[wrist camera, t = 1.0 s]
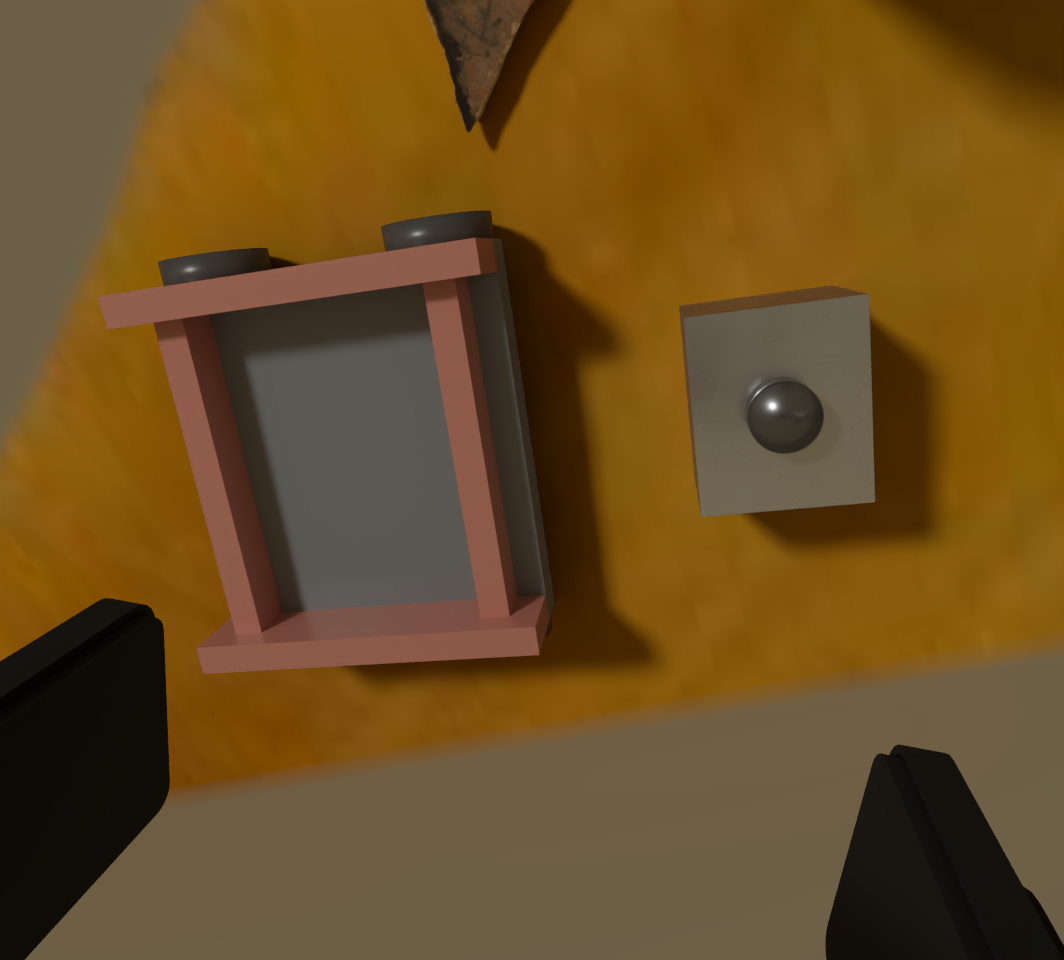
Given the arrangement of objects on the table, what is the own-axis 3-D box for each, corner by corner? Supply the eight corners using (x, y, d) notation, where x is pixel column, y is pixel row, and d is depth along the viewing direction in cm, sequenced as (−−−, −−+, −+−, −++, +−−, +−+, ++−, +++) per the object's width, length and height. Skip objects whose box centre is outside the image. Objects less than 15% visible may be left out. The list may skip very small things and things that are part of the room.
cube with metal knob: (830, 285, 26) (878, 296, 21) (838, 458, 28) (884, 513, 22) (678, 305, 27) (684, 321, 21) (694, 472, 29) (703, 527, 23)
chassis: (506, 212, 27) (469, 203, 22) (562, 606, 31) (543, 679, 26) (191, 263, 29) (89, 266, 24) (280, 625, 33) (209, 696, 28)
